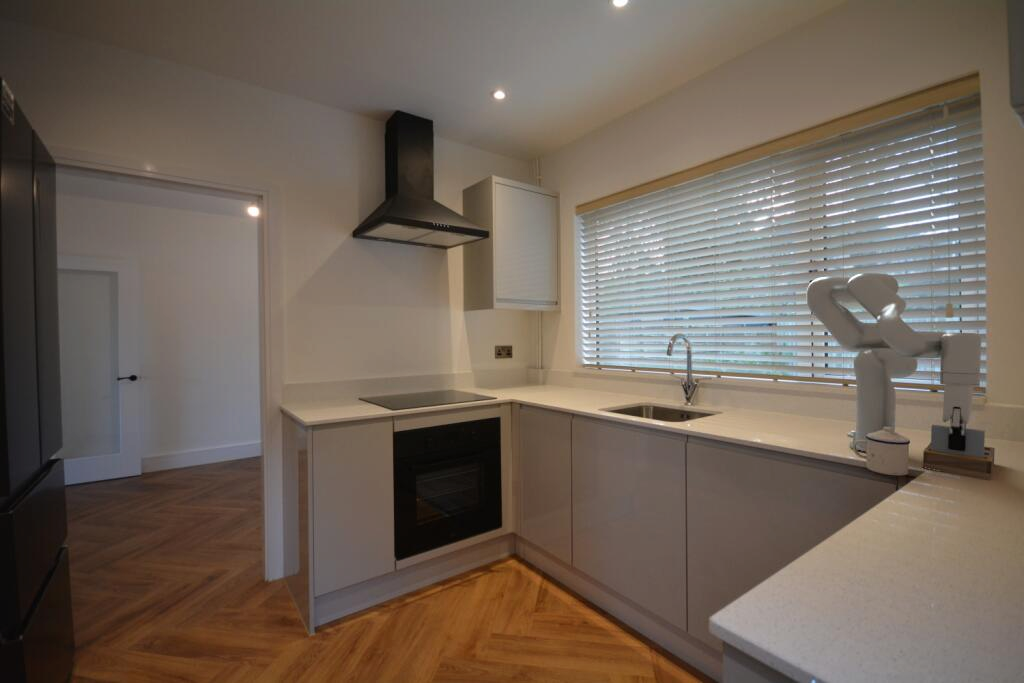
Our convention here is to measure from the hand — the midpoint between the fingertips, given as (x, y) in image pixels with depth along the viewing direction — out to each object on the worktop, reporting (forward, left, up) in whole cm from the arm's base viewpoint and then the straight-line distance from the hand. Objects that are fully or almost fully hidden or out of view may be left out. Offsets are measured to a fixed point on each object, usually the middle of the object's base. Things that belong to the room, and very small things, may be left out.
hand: (957, 448), depth 123 cm
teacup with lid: (-4, -19, -6) cm, 20 cm away
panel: (0, 0, -5) cm, 5 cm away
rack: (-4, +6, -6) cm, 9 cm away
